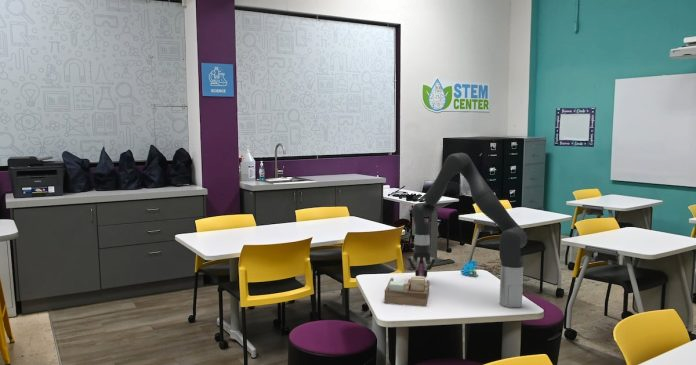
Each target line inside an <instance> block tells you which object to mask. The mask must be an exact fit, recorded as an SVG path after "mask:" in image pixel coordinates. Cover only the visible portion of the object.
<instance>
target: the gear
mask: <svg viewBox="0 0 696 365" xmlns="http://www.w3.org/2000/svg"><path fill="white" fill-rule="evenodd" d="M463 265H464V266H462V267H461V270H460V273H461V275H462V276H468V275H469V276H471V274H473V275H475V276H476V277H479V275H478V274H477V268H478V267H477V266H478V262H477V261H476V260H473V259H472V260H471V261H470V260H468V261H467V263H463Z"/></svg>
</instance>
